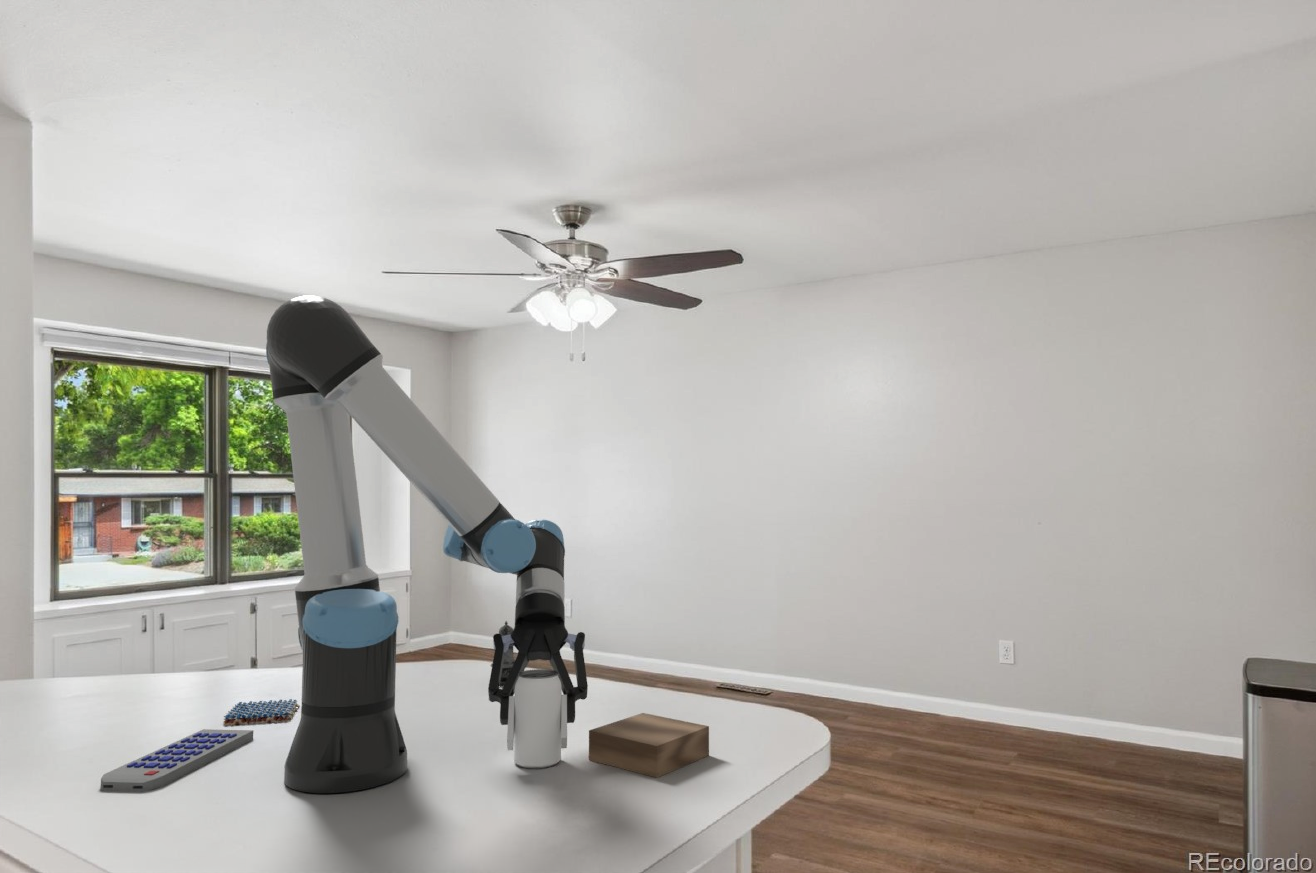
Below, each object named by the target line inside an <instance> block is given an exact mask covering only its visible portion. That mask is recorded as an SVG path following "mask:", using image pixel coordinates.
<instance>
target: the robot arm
mask: <svg viewBox="0 0 1316 873" xmlns="http://www.w3.org/2000/svg"><path fill="white" fill-rule="evenodd" d="M265 345H266V346H265V347H266V348H265V349H266V350H265V351H266V352H265V354H266V360H267V363H268V366H269V373H270V374H269V375H270V384H271V392H272V399H273V404H275V405H276V406H277V407H279V408H280V409H281V410H283V411H284V412H285V414H286V422H287V432H288V433H287V434H288V439H289V441H288V442H289V448H290V449H289V450H290V458H291V466H292V477H293V483H294V486H293V487H294V493H295V502H296V510H297V511H296V513H297V519H298V520H297V521H298V529H299V536H300V544H301V545H300V546H301V554H302V563H303V572H304V574H303V577H302V578H301V579H300V580H299V582H298V583H297V584H296V586H295V587H294V594H295V602H296V612H297V619H298V620H297V621H298V629H297V635H298V640H299V641H298V642H299V645H300V648H301V651H302V673H301V674H302V675H301V677H302V679H301V681H302V682H301V706H300V708H301V710H300V720H299V722H298V726H297V729H296V732H295V734H294V736H293V740H292V743H291V746H290V748H289V752H288V754H287V757H286V760H285V763H284V772H283V774H284V776H283V777H284V778H283V782H284V784H285V786H287V787H288V788H290V789H291V790H295V791H297V792H303V793H310V794H311V793H312V794H334V793H335V794H337V793H349V792H355V791H361V790H366V789H371V788H374V787H378V786H381V785H385V784H387V783H390V782H392V781H395V780H397V779H399V778H400V777H402V776H403V775H404V774H405V773H406V772H407V770H408V750H407V746H406V744H405V741H404V736H403V733H402V730H401V727H400V724H399V720H398V717H397V714H396V672H397V671H396V670H397V664H396V663H397V628H398V624H399V615H398V614H399V613H398V611H397V610H398V607H397V602H396V600H395V598H394V597H393V596H392V595H391V594H389V593H387V592H384V591H381V589H380V579H379V574H378V573H377V572H376V571H374V570H373V569H371V568H369V566H368V565H367V561H366V554H365V553H366V551H365V542H364V536H363V526H362V518H361V517H362V516H361V507H360V500H359V493H358V491H359V490H358V484H357V483H358V482H357V474H356V466H355V465H356V464H355V458H354V457H355V456H354V448H353V439H352V432H351V423H350V417H351V418H352V419H353V420H354V422H356V424H357V425H358V426H359V427H360V428H361V429H362V430H363V431H364V432H365V433H366V434H367V436H368V437H370V440H372V441H373V442H374V444H375V445H376V446H377V447H378V448H379V449H380V450H381V452H383V453H384V455H385V456H387V458H388V459H389V460H390V461H391V462H392V463H393V464H394V465H395V467H396V468H397V469H398V470H399V471H400V472H401V473H402V474H403V475H404V477H405V478H407V480H408V481H409V482H410V483H411V484H412V485H413V486H414V488H415V489H417V491H418V492H419V493H420V494H421V495H422V496H423V497H424V498H425V500H426V501H427V502H428V503H429V504H430V505H431V507H433V509H435V511H436V512H437V513H438V514H439V516H441V517H442V519H444V521H445V522H446V523H447V525H448V526H447V528H446V532H445V534H444V535H445V536H444V538H443V539H444V540H443V544H442V550H443V554H444V555H446V557H449V558H453V559H457V560H458V561H459V562H466V563H470V564H472V565H473V564H474V565H477V566H480V567H482V568H486V569H490V570H491V571H493V572H494V573H499V574H500V573H501V574H512V575H515V576H516V588H515V590H516V591H515V613H514V627H513V631H512V632H511V634H510V635H505V636H501V635H500V634H499V633H494V634H493V636H492V638H493V639H492V640H493V650H494V655H493V658H492V663H493V664H492V663H491V664H492V667H491V671H490V675H489V676H490V677H489V682H488V687H487V688H488V689H487V690H488V700H489V702H490V703H495V702H497V703H499V704H500V707H499V723H500V724H501V726H507V733H506V737H507V738H506V744H507V745H506V746H507V748H506V750H507V751H514V706H515V684H516V682H517V680H518V677H519V676H518V673H520V672H522V671H526V668H527V667H528V666H529V665H528V664H529V662H530V661H533V662H534V661H537V660H541V661H548V662H549V664H550V665H551V667H552V670H554V671H557V672H558V673H559V674H558V677H559V679H560V682H561V686H562V698H561V749H567V748H568V724H574V723H575V721H576V702H577V701H579V700H585V699H587V698H588V690H589V689H588V686H589V685H588V678H587V670H586V663H585V656H584V650H585V643H586V634H585V632H582V631H581V632H580V631H579V632H577V634H574V633H573V634H572V633H569V632H568V629H567V628H566V625H565V624H566V623H565V622H566V620H565V619H566V618H565V616H566V615H565V614H566V613H565V612H566V611H565V556H566V548H565V539H564V533H563V530H562V529H561V527H559V525H558V524H557V523H555V522H554V521H552V520H548V519H540V520H537V519H533V520H530V521H528V522H526V523H524V522H522V521H521V520H519V519H516V518H514V517H513V515H512V514H511V513H510V512H509V510H508V509H507V508H506V507H505V506H504V505H503V504H502V503H501V502H500V500H499V499H498V498H497V497H496V496H495V495H494V493H493V492H492V491H491V490H490V489H489V488H488V486H487V485H486V484H485V483H484V482H483V481H482V480H481V478H480V476H478V474H476V472H475V471H474V470H473V469H472V468H471V467H470V466H469V464H467V462H466V461H465V459H463V457H462V456H461V455H460V454H459V453H458V452H457V451H456V450H455V448H454V447H453V446H452V445H451V444H450V443H449V441H448V440H447V439H446V438H445V437H444V436H443V435H442V434H441V432H440V431H439V429H437V427H435V425H434V424H433V423H432V422H431V421H430V420H429V419H428V418H427V416H426V415H425V414H424V413H423V412H422V410H421V409H420V408H419V407H418V406H417V405H416V404H415V403H414V401H413V400H412V399H411V398H410V396H408V394H407V393H406V392H405V391H404V390H403V389H402V387H400V385H399V384H398V383H397V382H396V381H395V379H394V378H393V377H392V376H391V375H390V374H389V372H388V371H387V370H386V369H385V367H383V359H384V358H383V356H384V355H383V354H382V353H381V352H380V351H379V350H378V348H377V347H376V346H375V345H374V344H373V343H372V342H371V340H370V339H369V338H368V337H367V335H366V333H364V332H363V330H362V328H361V327H360V326H359V325H358V324H357V322H356V321H355V320H354V319H353V317H352V316H351V315H350V313H348V311H346V310H345V308H343V307H342V306H341V305H340V304H338V303H336V302H334V301H333V300H331V299H328V298H326V297H323V296H319V295H302V296H301V295H300V296H297V297H294V298H291V299H290V300H287V301H285V302H283V303H282V304H280V306H279V307H278V308H277V309H276V310H274V313H273V314H272V316H271V317H270V319H269V322H268V324H267V328H266V344H265ZM511 643H512V644H513V645H514V646H513V647H514V648H516V650H517V651H518V652H517V655H516V657H515V659H514V660H515V662H514V664H513V667H512V669H511V671H510V673H509V676H508V678H507V680H506V682H505V685H504V686H503V688H500V681H501V674H502V668H503V662H504V652H506V651H507V650H508V648H509V645H510V644H511ZM566 643H568V644H569V648H570V649H571V651H573V661H574V667H575V668H574V669H575V675H576V676H575V677H576V685H577V686H575V685H574V684H573V682H572V680H571V677H570V675H569V671H568V669H567V667H566V665H565V662H564V660H563V658H562V654H561V650H562V648H563V647H564V646H565V644H566Z"/></svg>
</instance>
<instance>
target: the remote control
mask: <svg viewBox="0 0 1316 873" xmlns="http://www.w3.org/2000/svg"><path fill="white" fill-rule="evenodd" d="M252 740H254V730H252V729H250V730H247V729H244V730H243V729H211V728H210V729H205V728H204V729H201V730H199V731H197V732H194V733H192V734H189V735H187V736H186V737H184V738H181V739H179V740H177V741H174V742H172V743H170V744H167V745H165V746H164V747H161V748H159V749H156V750H155V751H153V752H150V753H148V754H146V755H143V756H141V757H139V758H137V759H134V760H133V761H130V762H128V763H126V764H123V765H121V766H119V767H116V768H115V769H112V770H110V771H107V772H106V773H104V774H103V775H102V776H101V777H100V789H101V790H102V791H111V792H112V791H115V792H116V791H118V792H146V791H152V790H156V789H158V788H159V789H160V788H162V787H165V786H166V785H168V784H170V783H172V782H174V781H176V780H178V779H180V778H182V777H183V776H185V775H188V774H189V773H192V772H193V771H196V770H197V769H199V768H201V767H202V766H205V765H207V764H208V763H210V762H212V761H215V760H216V759H218V758H220V757H222V756H224V755H225V754H227V753H229V752H232V751H233V750H236V749H238V748H240V747H241V746H243V745H245V744H247V743H249V742H251V741H252Z"/></svg>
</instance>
